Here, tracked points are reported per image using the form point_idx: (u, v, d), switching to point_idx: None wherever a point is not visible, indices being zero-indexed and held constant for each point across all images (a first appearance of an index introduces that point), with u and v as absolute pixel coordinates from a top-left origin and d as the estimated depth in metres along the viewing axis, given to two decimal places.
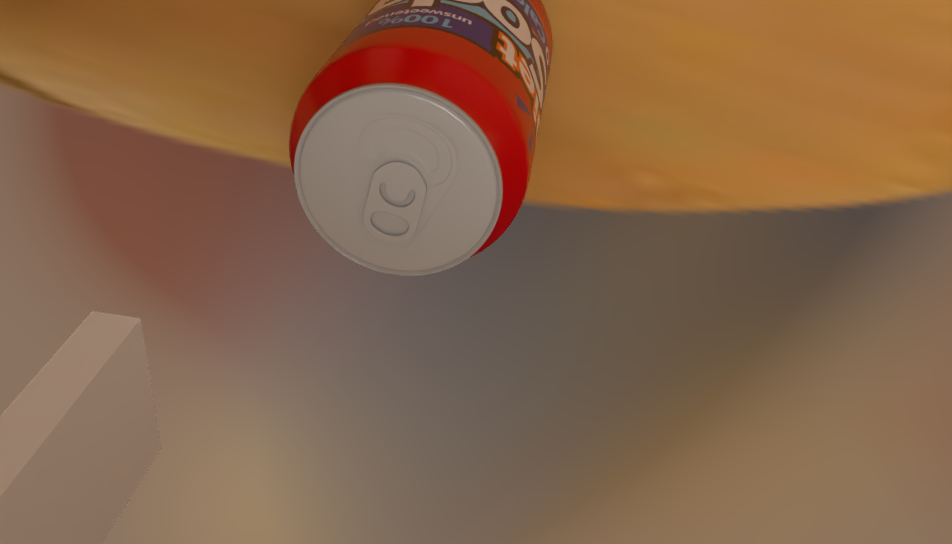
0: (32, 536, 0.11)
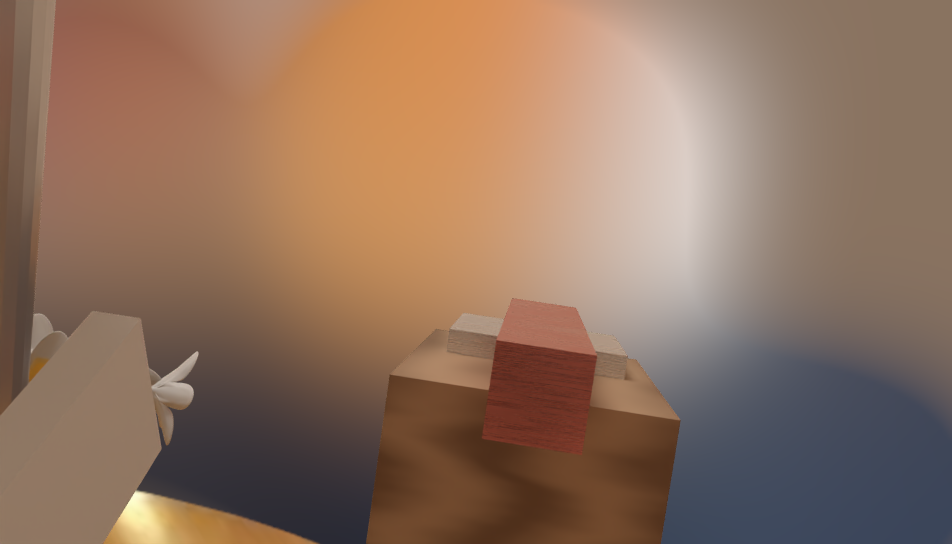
0: (32, 536, 0.11)
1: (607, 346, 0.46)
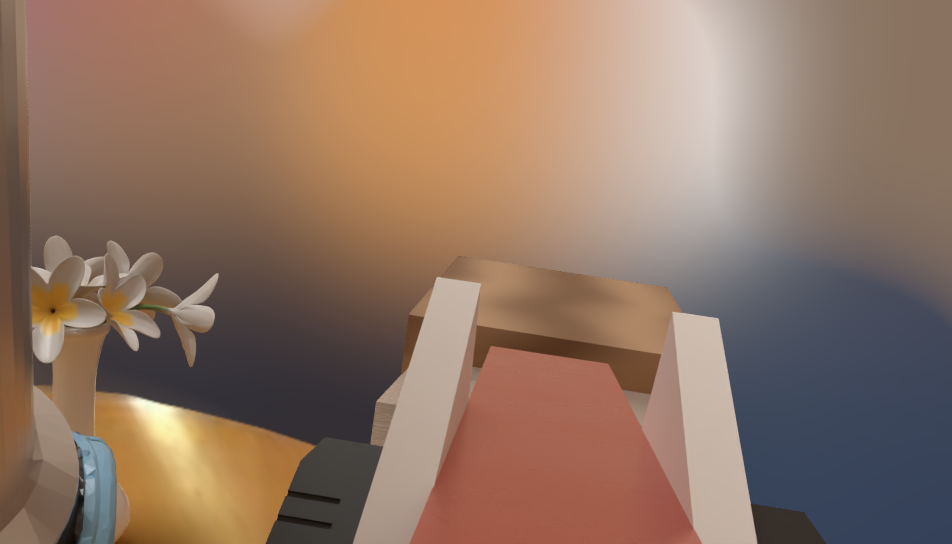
0: None
1: None
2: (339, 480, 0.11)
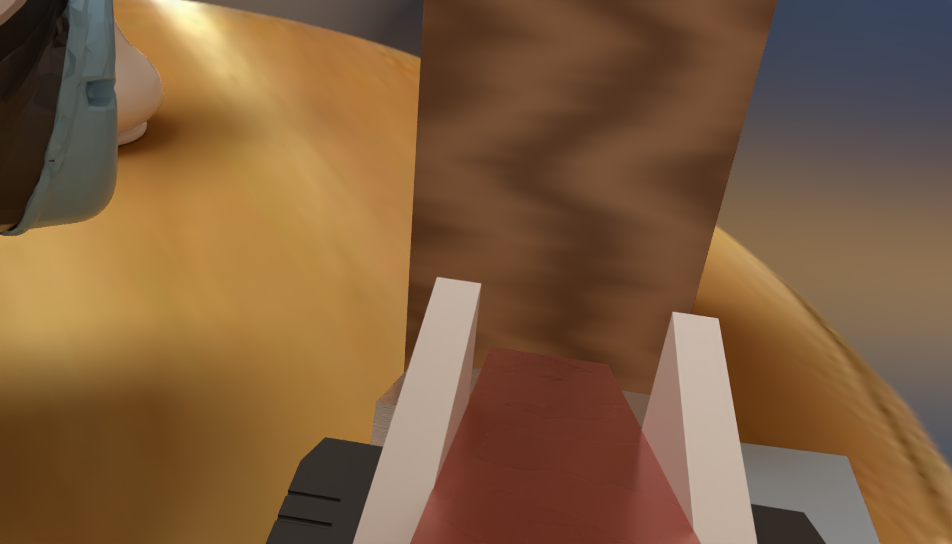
0: None
1: None
2: (339, 480, 0.11)
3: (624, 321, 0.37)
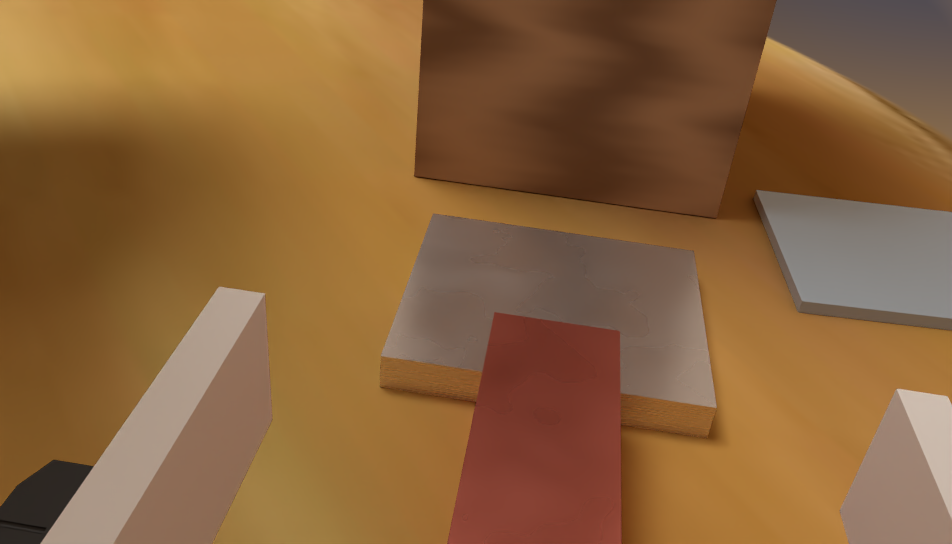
0: (186, 491, 0.11)
1: (679, 343, 0.25)
2: (52, 507, 0.11)
3: None
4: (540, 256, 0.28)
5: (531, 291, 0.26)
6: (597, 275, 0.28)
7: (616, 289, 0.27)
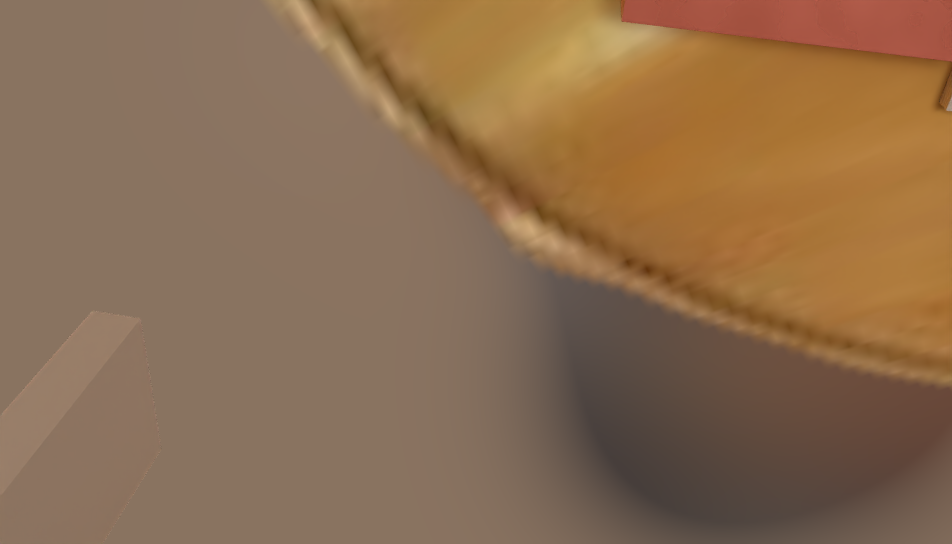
0: (32, 536, 0.11)
1: None
2: None
3: None
4: None
5: None
6: None
7: None
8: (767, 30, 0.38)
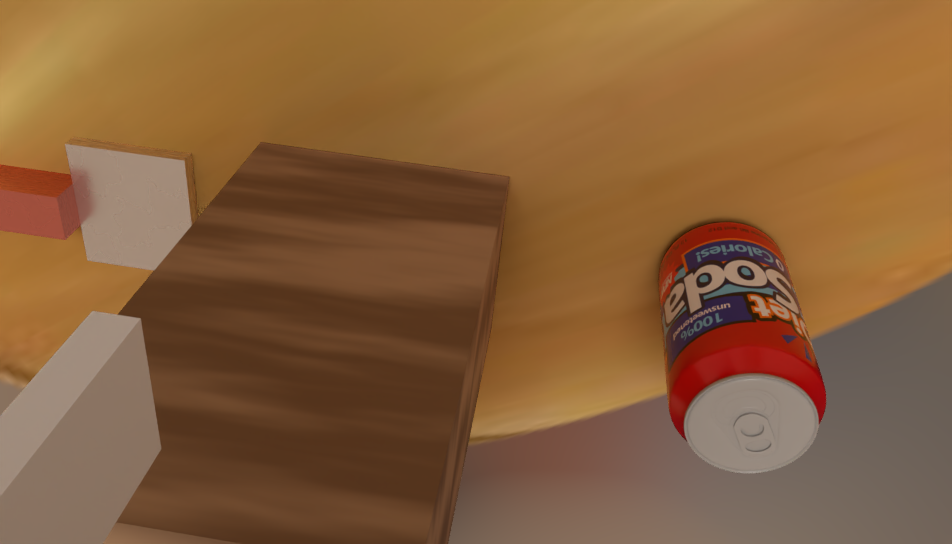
0: (32, 536, 0.11)
1: (121, 256, 0.60)
2: None
3: None
4: (164, 209, 0.57)
5: (133, 203, 0.57)
6: (158, 232, 0.59)
7: (150, 238, 0.59)
8: None
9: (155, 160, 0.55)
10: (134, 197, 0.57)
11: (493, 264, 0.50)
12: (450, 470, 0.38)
